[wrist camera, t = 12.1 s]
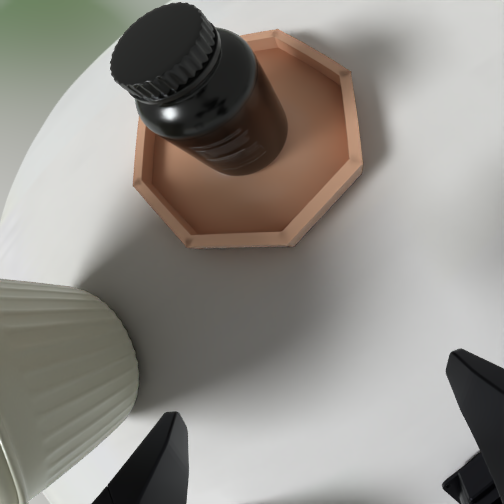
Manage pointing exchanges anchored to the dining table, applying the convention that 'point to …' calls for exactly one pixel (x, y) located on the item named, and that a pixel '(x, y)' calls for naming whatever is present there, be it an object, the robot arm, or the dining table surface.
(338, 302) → the dining table surface
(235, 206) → the terracotta octagonal tray
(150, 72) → the supplement bottle
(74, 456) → the canister
